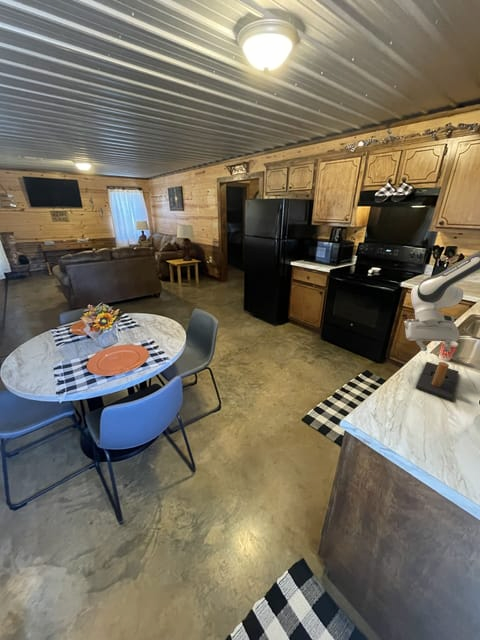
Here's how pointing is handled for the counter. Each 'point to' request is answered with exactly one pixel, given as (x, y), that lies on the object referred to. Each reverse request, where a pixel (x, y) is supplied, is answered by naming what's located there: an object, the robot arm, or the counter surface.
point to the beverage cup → (447, 354)
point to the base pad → (450, 374)
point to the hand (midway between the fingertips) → (436, 350)
